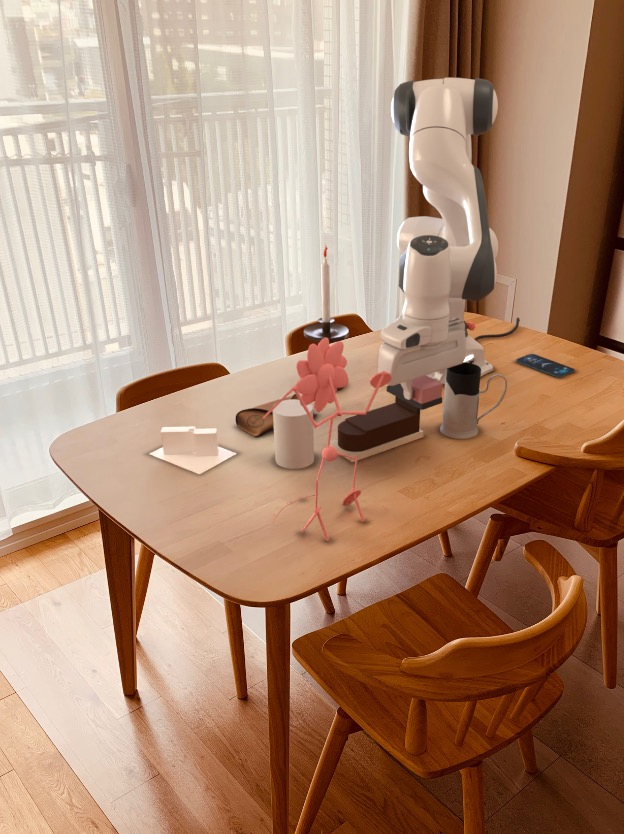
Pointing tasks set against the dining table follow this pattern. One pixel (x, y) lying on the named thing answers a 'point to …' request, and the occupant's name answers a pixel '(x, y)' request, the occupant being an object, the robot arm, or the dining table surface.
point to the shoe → (378, 430)
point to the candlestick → (326, 315)
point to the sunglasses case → (258, 418)
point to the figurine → (321, 387)
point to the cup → (293, 435)
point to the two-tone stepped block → (420, 392)
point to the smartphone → (545, 365)
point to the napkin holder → (191, 448)
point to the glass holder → (463, 400)
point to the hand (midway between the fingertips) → (422, 393)
